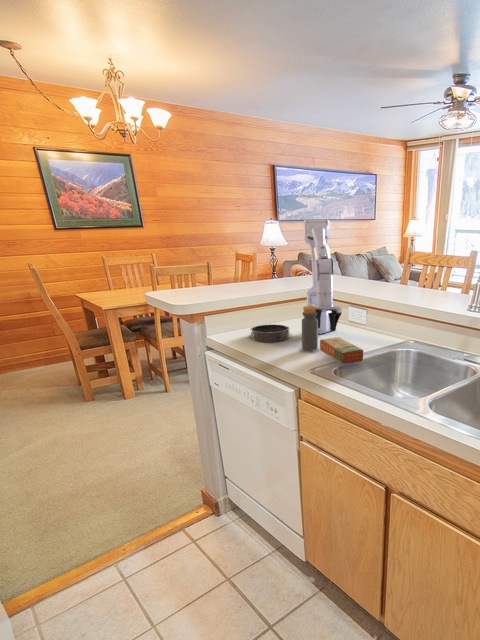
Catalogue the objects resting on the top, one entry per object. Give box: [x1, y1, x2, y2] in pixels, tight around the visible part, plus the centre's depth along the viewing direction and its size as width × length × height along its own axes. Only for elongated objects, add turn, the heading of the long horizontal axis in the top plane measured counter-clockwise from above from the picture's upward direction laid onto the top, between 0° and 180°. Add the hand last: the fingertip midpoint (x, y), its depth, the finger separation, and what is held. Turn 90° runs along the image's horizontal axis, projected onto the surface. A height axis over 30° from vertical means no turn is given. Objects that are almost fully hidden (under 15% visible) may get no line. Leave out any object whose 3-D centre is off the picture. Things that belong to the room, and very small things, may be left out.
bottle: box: [301, 305, 319, 351], centre depth 148 cm, size 6×6×15 cm
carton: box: [319, 336, 364, 365], centre depth 140 cm, size 8×16×4 cm, turn 30°
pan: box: [250, 324, 291, 344], centre depth 165 cm, size 15×15×4 cm
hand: (325, 329), depth 156 cm, fingers open, 7 cm apart
